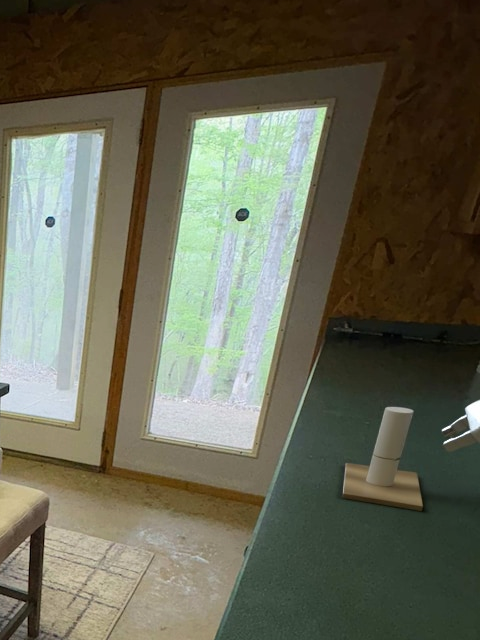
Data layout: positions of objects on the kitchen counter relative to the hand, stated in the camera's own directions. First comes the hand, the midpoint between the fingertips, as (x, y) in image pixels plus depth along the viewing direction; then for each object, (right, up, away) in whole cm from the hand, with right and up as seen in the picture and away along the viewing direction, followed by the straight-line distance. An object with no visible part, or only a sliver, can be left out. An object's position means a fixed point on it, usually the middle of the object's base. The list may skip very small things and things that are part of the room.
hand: (444, 441), depth 117 cm
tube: (-6, -8, +8) cm, 13 cm away
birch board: (-6, -9, +8) cm, 13 cm away
